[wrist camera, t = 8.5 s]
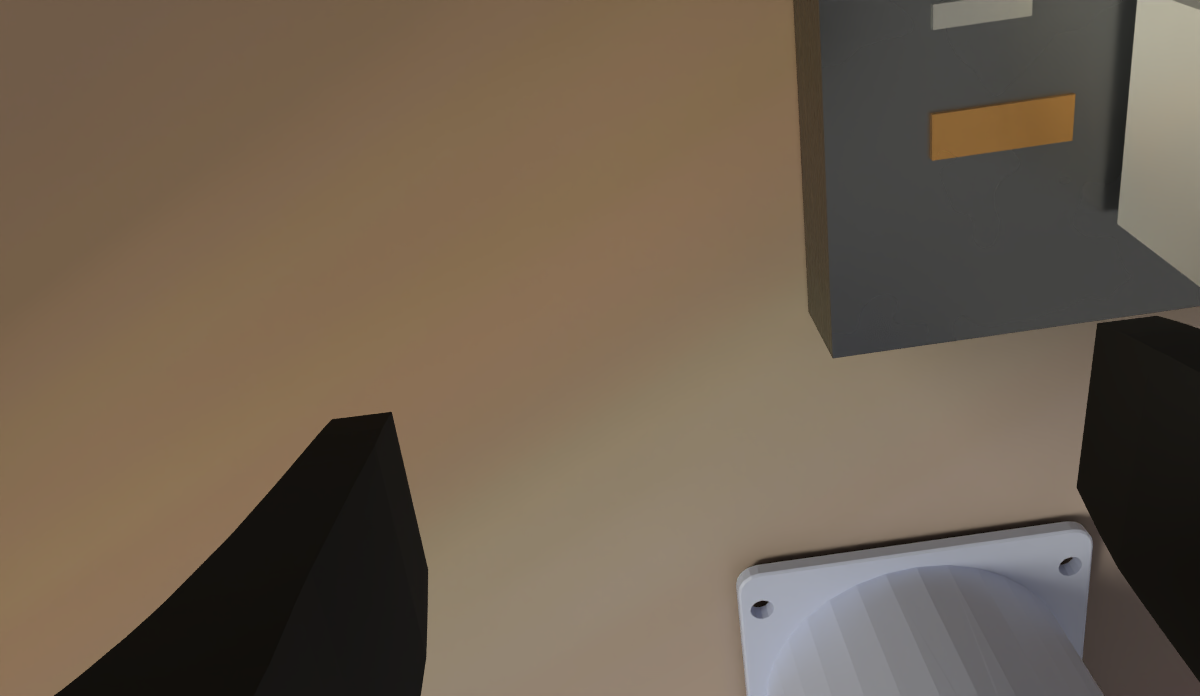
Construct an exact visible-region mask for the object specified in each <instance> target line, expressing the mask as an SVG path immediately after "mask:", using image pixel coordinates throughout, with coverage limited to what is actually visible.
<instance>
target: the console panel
mask: <svg viewBox="0 0 1200 696" xmlns="http://www.w3.org/2000/svg"><path fill="white" fill-rule="evenodd" d="M793 2H794V23H795V43H796V63H797V84H798V104H799V125H800V145H801V166H802V186H803V206H804V227H805V247H806V268H807V288H808V309H809V314H810V316H811V318H812V319H813V321H814V323H815V325H816V327H817V329H818V331H819V333H820V335H821V337H822V339H823V341H824V343H825V344H826V346H827V348H828V350H829V352H830V354H831V356H832V358H838V357H845V356H852V355H859V354H866V353H873V352H880V351H887V350H894V349H901V348H908V347H915V346H922V345H929V344H936V343H943V342H950V341H957V340H964V339H971V338H978V337H985V336H992V335H999V334H1006V333H1013V332H1020V331H1028V330H1035V329H1042V328H1049V327H1056V326H1063V325H1070V324H1077V323H1084V322H1091V321H1098V320H1105V319H1112V318H1119V317H1126V316H1133V315H1140V314H1147V313H1154V312H1161V311H1168V310H1175V309H1182V308H1189V307H1196V306H1200V287H1199V286H1198V285H1197V284H1195V283H1194V282H1193V281H1191V280H1190V279H1189V278H1187V277H1186V276H1185V275H1183V274H1182V273H1181V272H1180V271H1178V270H1177V269H1176V268H1174V267H1173V266H1172V265H1170V264H1169V263H1168V262H1166V261H1165V260H1164V259H1163V258H1161V257H1160V256H1159V255H1157V254H1156V253H1155V252H1153V251H1152V250H1151V249H1149V248H1148V247H1147V246H1146V245H1144V244H1143V243H1142V242H1140V241H1139V240H1138V239H1136V238H1135V237H1134V236H1132V235H1131V234H1130V233H1128V232H1127V231H1126V230H1125V229H1123V228H1122V227H1121V226H1119V225H1118V224H1117V220H1118V208H1119V197H1120V186H1121V175H1122V164H1123V153H1124V142H1125V131H1126V120H1127V108H1128V97H1129V86H1130V75H1131V64H1132V53H1133V42H1134V31H1135V20H1136V8H1137V0H793Z"/></svg>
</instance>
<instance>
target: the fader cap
mask: <svg viewBox="0 0 1200 696" xmlns="http://www.w3.org/2000/svg"><path fill="white" fill-rule="evenodd" d="M1117 224H1118V225H1119V226H1121V227H1122V228H1123V229H1125V230H1126V231H1127V232H1128V233H1130V234H1131V235H1132V236H1134V237H1135V238H1136V239H1138V240H1139V241H1140V242H1142V243H1143V244H1144V245H1146V246H1147V247H1148V248H1149V249H1151V250H1152V251H1153V252H1155V253H1156V254H1157V255H1159V256H1160V257H1161V258H1163V259H1164V260H1165V261H1166V262H1168V263H1169V264H1170V265H1172V266H1173V267H1174V268H1176V269H1177V270H1178V271H1180V272H1181V273H1182V274H1183V275H1185V276H1186V277H1187V278H1189V279H1190V280H1191V281H1193V282H1194V283H1195V284H1197V285H1198V286H1199V287H1200V0H1137V8H1136V20H1135V31H1134V42H1133V53H1132V64H1131V75H1130V86H1129V97H1128V108H1127V120H1126V131H1125V142H1124V153H1123V164H1122V175H1121V186H1120V197H1119V208H1118V220H1117Z"/></svg>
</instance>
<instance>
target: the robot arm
mask: <svg viewBox="0 0 1200 696" xmlns="http://www.w3.org/2000/svg"><path fill="white" fill-rule="evenodd" d="M1077 489H1078V491H1079V493H1080V495H1081V497H1082V499H1083V502H1084V504H1085V506H1086V508H1087V510H1088V512H1089V514H1090V516H1091V518H1092V520H1093V522H1094V524H1095V526H1096V528H1097V530H1098V532H1099V534H1100V536H1101V537H1102V539H1103V541H1104V543H1105V545H1106V547H1107V549H1108V550H1109V552H1110V554H1111V556H1112V558H1113V560H1114V561H1115V563H1116V565H1117V567H1118V569H1119V570H1120V571H1121V573H1122V574H1123V576H1124V577H1125V579H1126V580H1127V582H1128V583H1129V585H1130V586H1131V587H1132V589H1133V590H1134V592H1135V593H1136V595H1137V596H1138V597H1139V599H1140V600H1141V602H1142V603H1143V604H1144V606H1145V607H1146V609H1147V610H1148V611H1149V613H1150V614H1151V616H1152V617H1153V618H1154V620H1155V621H1156V623H1157V624H1158V625H1159V627H1160V628H1161V630H1162V631H1163V632H1164V634H1165V635H1166V637H1167V638H1168V639H1169V641H1170V642H1171V643H1172V645H1173V646H1174V648H1175V649H1176V650H1177V652H1178V653H1179V654H1180V656H1181V657H1182V658H1183V660H1184V661H1185V663H1186V664H1187V665H1188V667H1189V668H1190V669H1191V671H1192V672H1193V674H1194V675H1195V676H1196V678H1197V679H1198V680H1199V682H1200V329H1198V328H1195V327H1193V326H1190V325H1186V324H1183V323H1180V322H1177V321H1174V320H1170V319H1167V318H1163V317H1159V316H1152V317H1144V318H1136V319H1128V320H1120V321H1112V322H1104V323H1097V330H1096V338H1095V346H1094V354H1093V362H1092V370H1091V378H1090V386H1089V393H1088V401H1087V409H1086V417H1085V425H1084V433H1083V441H1082V449H1081V457H1080V465H1079V473H1078V480H1077ZM1092 550H1093V541H1092V537H1091V536H1090V534H1089V533H1088V532H1087V530H1086V529H1085V528H1084V527H1083V525H1082V524H1079V523H1077V522H1071V521H1066V522H1059V523H1052V524H1044V525H1037V526H1030V527H1023V528H1016V529H1009V530H1002V531H995V532H988V533H980V534H973V535H966V536H959V537H952V538H945V539H938V540H931V541H924V542H917V543H909V544H902V545H895V546H888V547H881V548H874V549H867V550H860V551H853V552H846V553H838V554H831V555H824V556H817V557H810V558H803V559H796V560H789V561H782V562H775V563H767V564H760V565H755V566H752V567H748V568H747V569H745V570H744V571H743V572H741V574H740V575H739V577H738V578H737V583H736V589H737V600H738V610H739V621H740V631H741V642H742V653H743V663H744V674H745V684H746V695H747V696H1104V695H1103V693H1102V691H1101V690H1100V688H1099V687H1098V685H1097V683H1096V682H1095V680H1094V679H1093V677H1092V675H1091V674H1090V672H1089V671H1088V669H1087V667H1086V666H1085V664H1084V663H1083V661H1082V658H1083V647H1084V636H1085V625H1086V615H1087V604H1088V593H1089V582H1090V571H1091V560H1092ZM1070 557H1073V559H1072V560H1070V561H1069V562H1068V563H1066V564H1063V565H1060V563H1061V562H1062V561H1063V560H1065V559H1067V558H1070ZM761 600H762V601H769V602H768V603H767V604H766V605H765V606H762V607H753V605H754V604H755V603H756V602H759V601H761ZM427 612H428V567H427V563H426V559H425V554H424V550H423V546H422V541H421V537H420V533H419V528H418V524H417V520H416V515H415V511H414V507H413V502H412V498H411V494H410V489H409V485H408V481H407V476H406V472H405V468H404V463H403V459H402V455H401V450H400V446H399V442H398V437H397V433H396V429H395V424H394V420H393V416H392V412H387V413H379V414H371V415H363V416H355V417H347V418H339V419H332V420H331V421H330V422H329V423H328V424H327V425H326V426H325V427H324V428H323V430H322V431H321V432H320V433H319V434H318V435H317V436H316V438H315V439H314V440H313V441H312V442H311V444H310V445H309V446H308V447H307V448H306V449H305V451H304V452H303V453H302V454H301V455H300V457H299V458H298V459H297V460H296V461H295V462H294V464H293V465H292V466H291V467H290V468H289V470H288V471H287V472H286V473H285V474H284V475H283V477H282V478H281V479H280V480H279V481H278V482H277V484H276V485H275V486H274V487H273V488H272V489H271V490H270V492H269V493H268V494H267V495H266V496H265V497H264V498H263V499H262V501H261V502H260V503H259V504H258V505H257V506H256V507H255V509H254V510H253V511H252V512H251V513H250V514H249V515H248V516H247V518H246V519H245V520H244V521H243V522H242V523H241V524H240V525H239V527H238V528H237V529H236V530H235V531H234V532H233V533H232V534H231V535H230V536H229V537H228V539H227V540H226V541H225V542H224V543H223V544H222V545H221V546H220V547H219V548H218V549H217V550H216V551H215V552H214V553H213V554H212V555H211V556H210V557H209V558H208V559H207V560H206V561H205V562H204V563H203V564H202V565H201V566H200V567H199V568H198V569H197V570H196V571H195V572H194V573H193V574H192V575H191V576H190V577H189V578H188V579H187V580H186V581H185V582H184V583H183V584H182V585H181V586H180V587H179V588H178V589H177V590H176V591H175V592H174V593H173V594H172V595H171V596H170V597H169V598H168V599H167V600H166V601H165V602H164V603H163V604H162V605H161V606H160V607H159V608H158V609H157V610H156V611H154V612H153V613H152V614H151V615H150V616H149V617H148V618H147V619H146V620H145V621H144V622H142V623H141V624H140V625H139V626H138V627H137V628H136V629H135V630H133V631H132V632H131V633H130V634H129V635H128V636H127V637H126V638H124V639H123V640H122V641H121V642H120V643H118V644H117V645H116V646H115V647H114V648H112V649H111V650H110V651H109V652H108V653H106V654H105V655H104V656H103V657H102V658H101V659H99V660H98V661H97V662H96V663H95V664H93V665H92V666H91V667H90V668H89V669H87V670H86V671H85V672H84V673H83V674H81V675H80V676H79V677H78V678H76V679H75V680H74V681H72V682H71V683H70V684H69V685H67V686H66V687H65V688H64V689H62V690H61V691H60V692H58V693H57V694H55V695H54V696H421V689H422V683H423V676H424V669H425V662H426V648H427Z"/></svg>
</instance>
